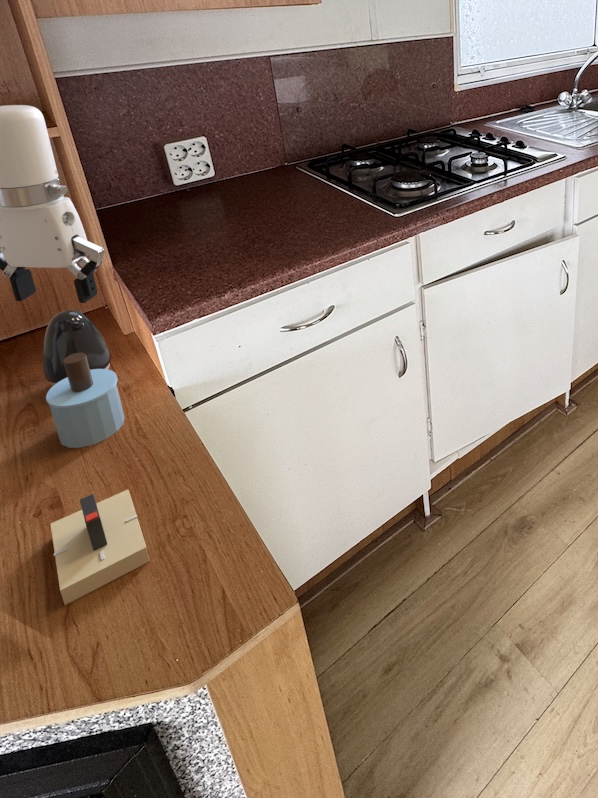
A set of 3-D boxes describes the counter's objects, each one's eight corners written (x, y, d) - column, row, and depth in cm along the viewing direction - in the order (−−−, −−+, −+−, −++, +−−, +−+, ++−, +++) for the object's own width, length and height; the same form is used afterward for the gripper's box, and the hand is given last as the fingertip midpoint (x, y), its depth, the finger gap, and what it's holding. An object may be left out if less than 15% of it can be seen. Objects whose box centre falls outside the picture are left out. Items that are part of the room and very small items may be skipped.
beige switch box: (54, 540, 78) (49, 523, 77) (133, 504, 84) (128, 487, 82) (64, 608, 69) (58, 590, 68) (151, 563, 75) (147, 545, 74)
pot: (47, 441, 95) (34, 398, 92) (100, 407, 103) (90, 367, 100) (85, 456, 92) (73, 413, 89) (137, 420, 100) (127, 380, 97)
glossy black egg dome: (68, 407, 103) (47, 333, 97) (38, 388, 107) (17, 317, 102) (127, 377, 111) (111, 307, 106) (97, 360, 116) (80, 293, 111)
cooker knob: (87, 525, 77) (79, 497, 75) (100, 519, 78) (92, 491, 76) (93, 551, 73) (85, 523, 72) (107, 544, 74) (99, 516, 72)
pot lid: (33, 402, 92) (22, 367, 90) (92, 368, 101) (84, 336, 98) (74, 418, 89) (64, 382, 87) (131, 382, 97) (123, 348, 95)
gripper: (106, 186, 87) (128, 288, 92) (-8, 183, 87) (22, 284, 93) (69, 203, 79) (96, 312, 85) (-54, 199, 80) (-19, 308, 85)
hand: (57, 297), depth 89 cm, fingers open, 9 cm apart
